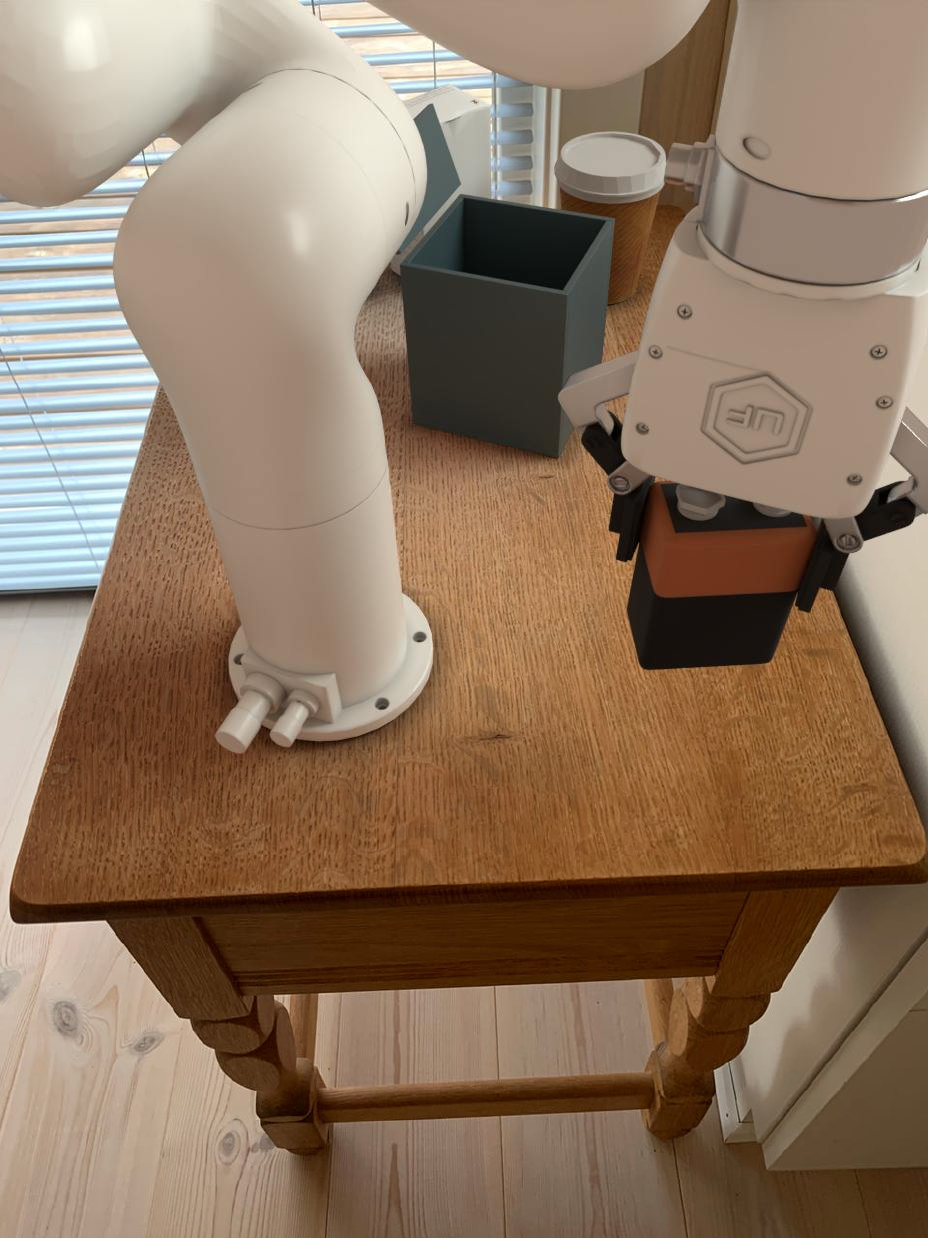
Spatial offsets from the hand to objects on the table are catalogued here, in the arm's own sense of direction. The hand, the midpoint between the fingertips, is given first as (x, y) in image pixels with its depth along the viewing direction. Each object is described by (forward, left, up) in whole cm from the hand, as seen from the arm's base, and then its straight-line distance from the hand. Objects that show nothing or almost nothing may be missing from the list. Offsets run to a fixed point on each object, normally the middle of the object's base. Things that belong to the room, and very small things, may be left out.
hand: (717, 564), depth 46 cm
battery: (0, 0, -6) cm, 6 cm away
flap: (+27, +27, +3) cm, 38 cm away
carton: (+27, +20, -14) cm, 37 cm away
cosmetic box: (+44, +33, -14) cm, 57 cm away
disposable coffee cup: (+46, +18, -14) cm, 52 cm away
